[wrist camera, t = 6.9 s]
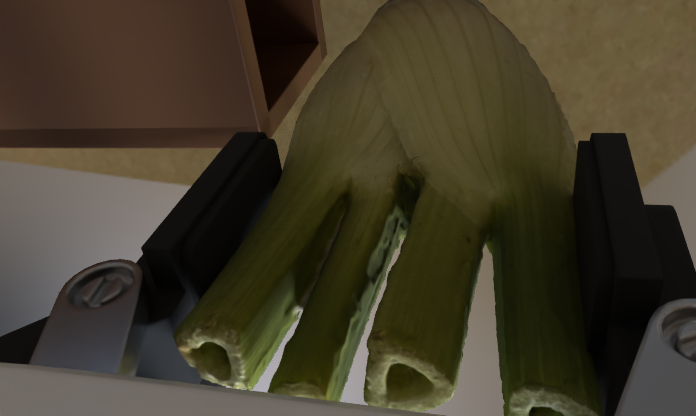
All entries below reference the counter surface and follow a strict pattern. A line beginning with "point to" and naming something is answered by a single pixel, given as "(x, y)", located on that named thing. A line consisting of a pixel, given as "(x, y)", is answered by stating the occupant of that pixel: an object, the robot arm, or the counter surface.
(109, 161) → the counter surface
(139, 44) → the shelf
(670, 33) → the counter surface
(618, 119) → the counter surface
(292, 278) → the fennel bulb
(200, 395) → the robot arm
